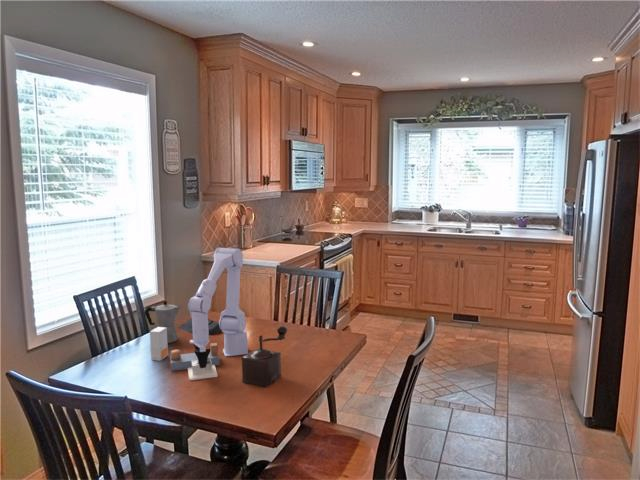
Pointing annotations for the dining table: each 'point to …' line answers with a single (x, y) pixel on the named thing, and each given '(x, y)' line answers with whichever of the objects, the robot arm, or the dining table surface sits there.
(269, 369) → the manual coffee grinder
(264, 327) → the dining table surface
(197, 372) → the lever cap
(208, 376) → the tile
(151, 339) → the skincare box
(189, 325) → the dark slate chunk
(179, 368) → the plane body
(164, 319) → the coffeepot
